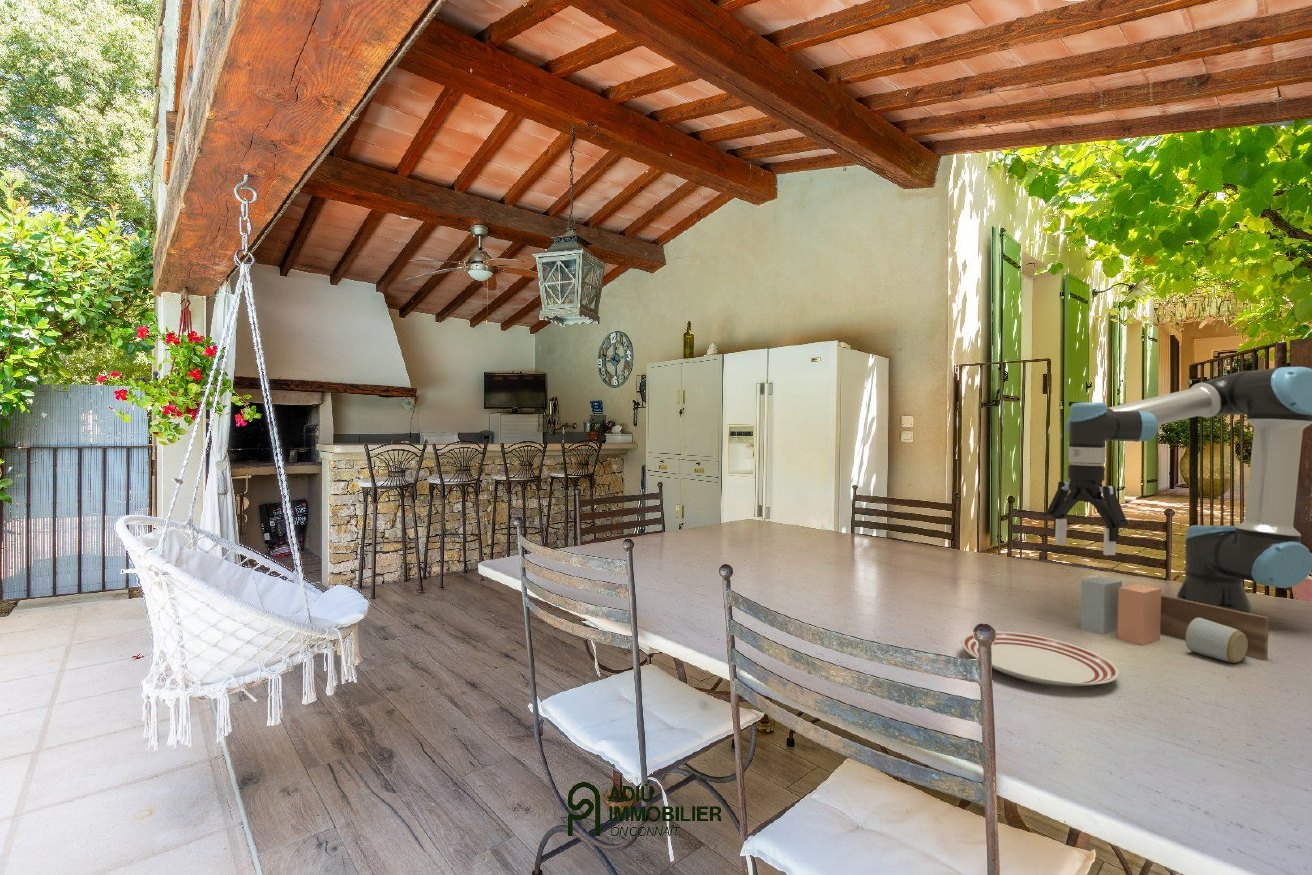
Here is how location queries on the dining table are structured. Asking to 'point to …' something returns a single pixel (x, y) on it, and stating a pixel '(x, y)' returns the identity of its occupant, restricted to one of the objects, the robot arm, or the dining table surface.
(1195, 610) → the brown wooden board
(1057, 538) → the robot arm
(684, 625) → the dining table surface
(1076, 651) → the dinner plate
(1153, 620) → the tan rectangular block
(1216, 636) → the ceramic mug
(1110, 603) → the light grey rectangular block
